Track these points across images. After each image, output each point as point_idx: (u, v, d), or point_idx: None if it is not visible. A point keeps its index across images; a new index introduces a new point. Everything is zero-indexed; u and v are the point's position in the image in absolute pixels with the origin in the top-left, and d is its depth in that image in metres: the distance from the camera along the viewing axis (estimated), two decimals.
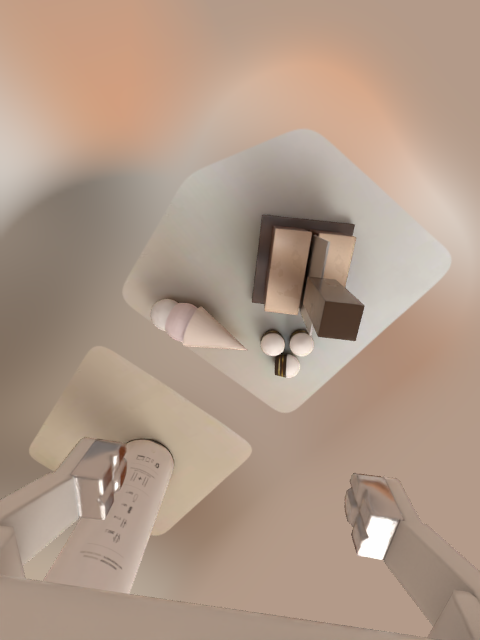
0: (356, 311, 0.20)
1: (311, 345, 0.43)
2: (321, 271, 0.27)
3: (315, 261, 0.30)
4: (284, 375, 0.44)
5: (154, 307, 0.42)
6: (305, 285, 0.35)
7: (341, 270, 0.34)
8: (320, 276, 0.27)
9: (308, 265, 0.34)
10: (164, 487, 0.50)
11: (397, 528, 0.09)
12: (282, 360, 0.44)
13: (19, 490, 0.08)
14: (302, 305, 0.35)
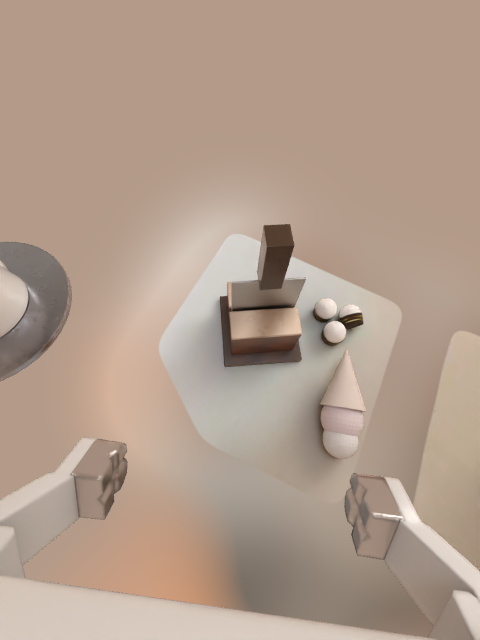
0: (269, 228, 0.29)
1: (323, 299, 0.49)
2: (253, 283, 0.36)
3: (249, 297, 0.39)
4: (359, 313, 0.47)
5: (335, 452, 0.39)
6: (271, 307, 0.42)
7: None
8: (257, 282, 0.36)
9: (255, 309, 0.42)
10: None
11: (397, 528, 0.09)
12: (346, 318, 0.48)
13: (19, 490, 0.08)
14: (287, 304, 0.42)
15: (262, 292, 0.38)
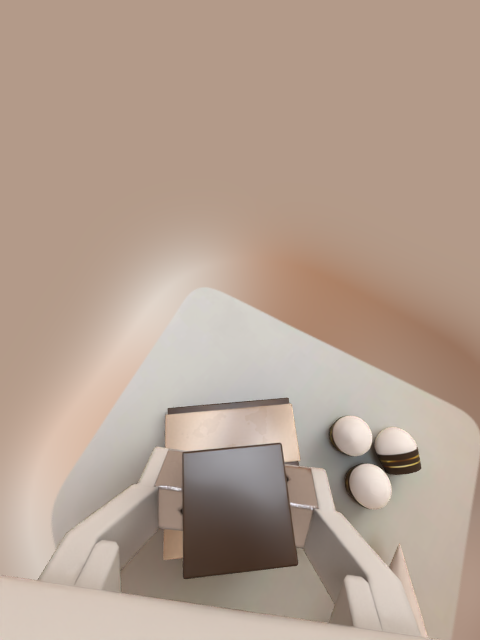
0: (200, 469, 0.08)
1: (347, 420, 0.27)
2: None
3: None
4: (415, 452, 0.26)
5: None
6: None
7: (215, 421, 0.22)
8: None
9: None
10: None
11: (312, 516, 0.09)
12: (391, 461, 0.26)
13: (110, 503, 0.08)
14: None
15: None
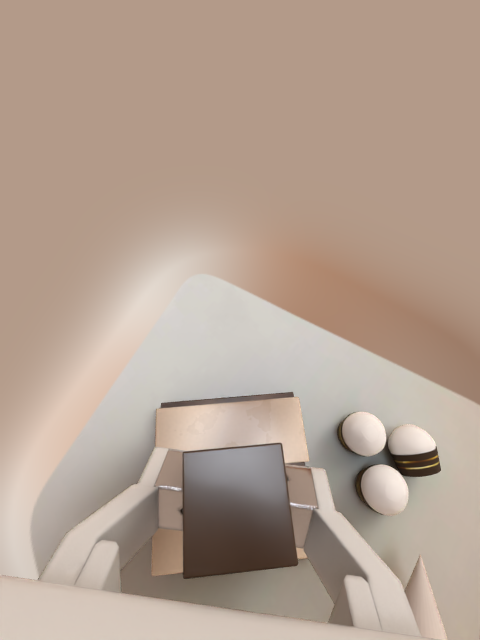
0: (201, 469, 0.07)
1: (359, 416, 0.25)
2: None
3: None
4: (434, 452, 0.24)
5: None
6: None
7: (213, 416, 0.20)
8: None
9: None
10: None
11: (312, 516, 0.09)
12: (407, 462, 0.24)
13: (110, 503, 0.08)
14: None
15: None
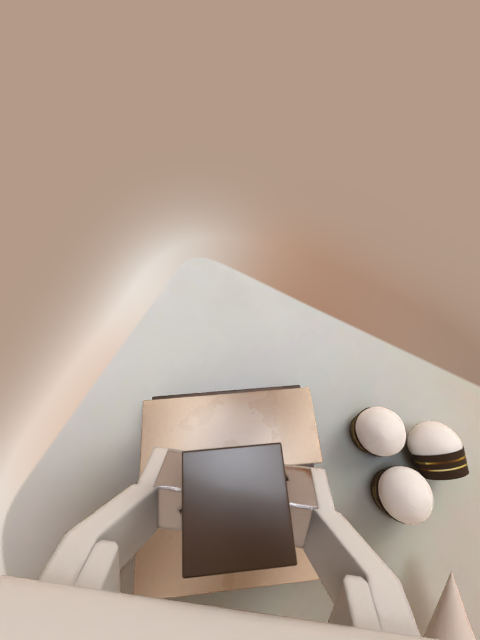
0: (200, 468, 0.07)
1: (374, 411, 0.22)
2: None
3: None
4: (462, 452, 0.21)
5: None
6: None
7: (209, 409, 0.17)
8: None
9: None
10: None
11: (311, 516, 0.09)
12: (431, 463, 0.21)
13: (110, 502, 0.08)
14: None
15: None
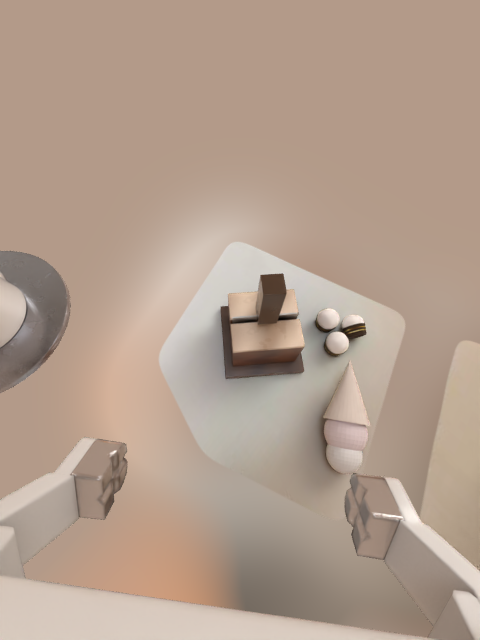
0: (265, 277, 0.33)
1: (325, 309, 0.48)
2: (252, 317, 0.40)
3: None
4: (362, 324, 0.47)
5: (339, 467, 0.38)
6: None
7: (254, 296, 0.43)
8: (255, 317, 0.40)
9: None
10: None
11: (397, 528, 0.09)
12: (349, 329, 0.47)
13: (19, 490, 0.08)
14: None
15: None
